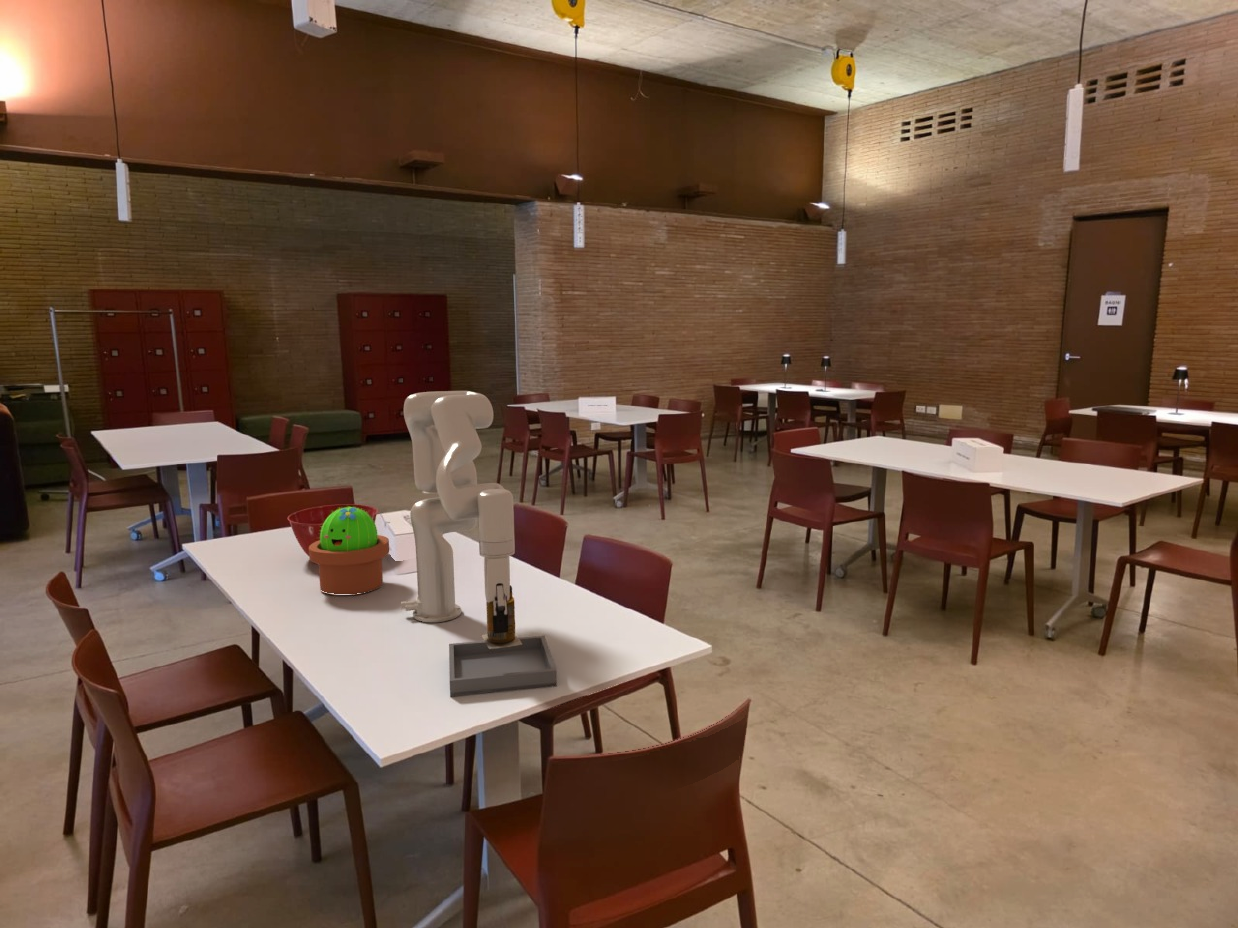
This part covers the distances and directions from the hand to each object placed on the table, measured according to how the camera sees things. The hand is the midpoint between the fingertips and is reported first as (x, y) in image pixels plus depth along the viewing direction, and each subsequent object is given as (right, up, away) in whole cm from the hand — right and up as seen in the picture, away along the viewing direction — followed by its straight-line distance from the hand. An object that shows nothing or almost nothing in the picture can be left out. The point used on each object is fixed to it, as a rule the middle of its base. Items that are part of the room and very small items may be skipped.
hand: (499, 625), depth 168 cm
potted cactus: (-53, -2, +61) cm, 81 cm away
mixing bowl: (-70, +3, +93) cm, 116 cm away
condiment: (0, -3, 0) cm, 3 cm away
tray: (0, -10, +2) cm, 11 cm away
